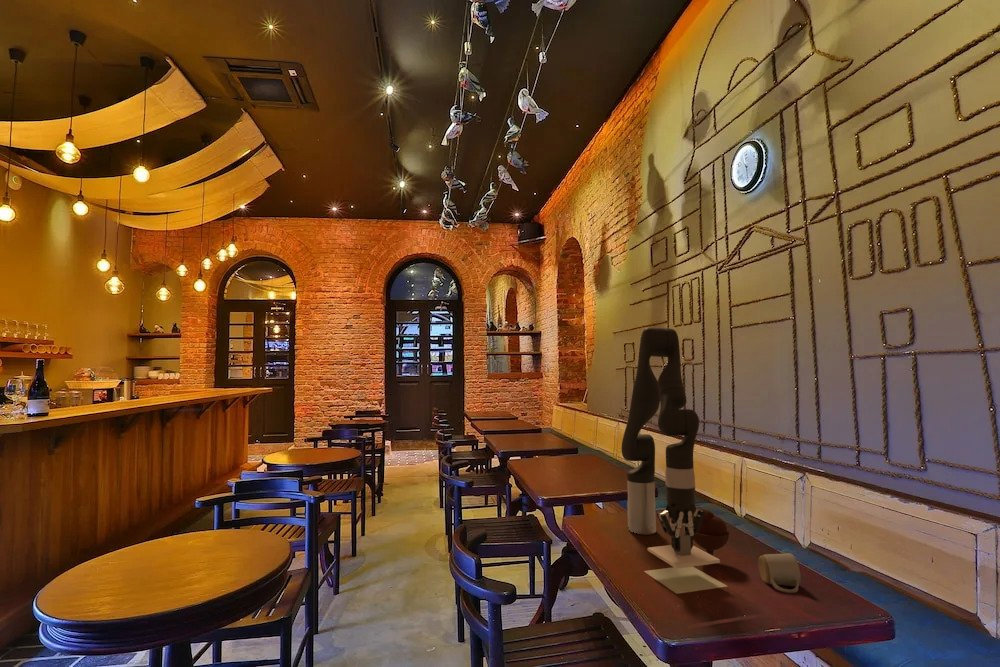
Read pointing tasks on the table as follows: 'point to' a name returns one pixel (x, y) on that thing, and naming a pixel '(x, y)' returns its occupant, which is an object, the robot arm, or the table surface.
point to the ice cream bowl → (711, 533)
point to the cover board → (683, 560)
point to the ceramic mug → (780, 571)
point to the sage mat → (684, 579)
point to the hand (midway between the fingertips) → (682, 549)
